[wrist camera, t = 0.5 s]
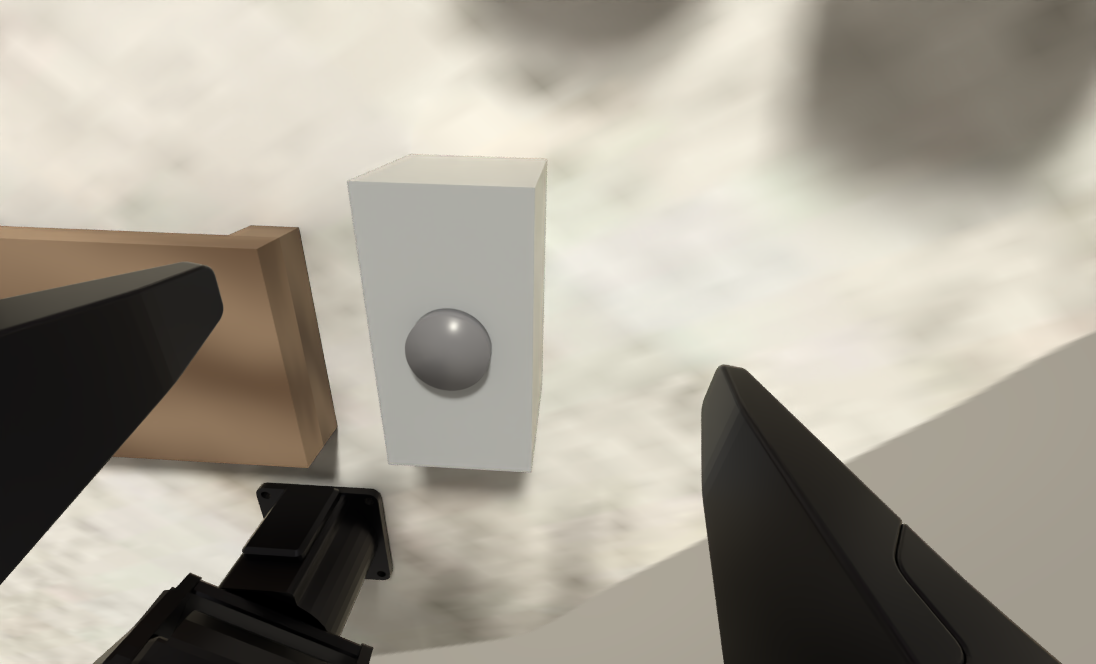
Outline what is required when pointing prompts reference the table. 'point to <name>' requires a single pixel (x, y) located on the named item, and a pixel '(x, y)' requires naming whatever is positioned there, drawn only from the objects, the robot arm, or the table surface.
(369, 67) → the table surface
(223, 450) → the walnut stand
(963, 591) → the robot arm
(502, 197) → the block
